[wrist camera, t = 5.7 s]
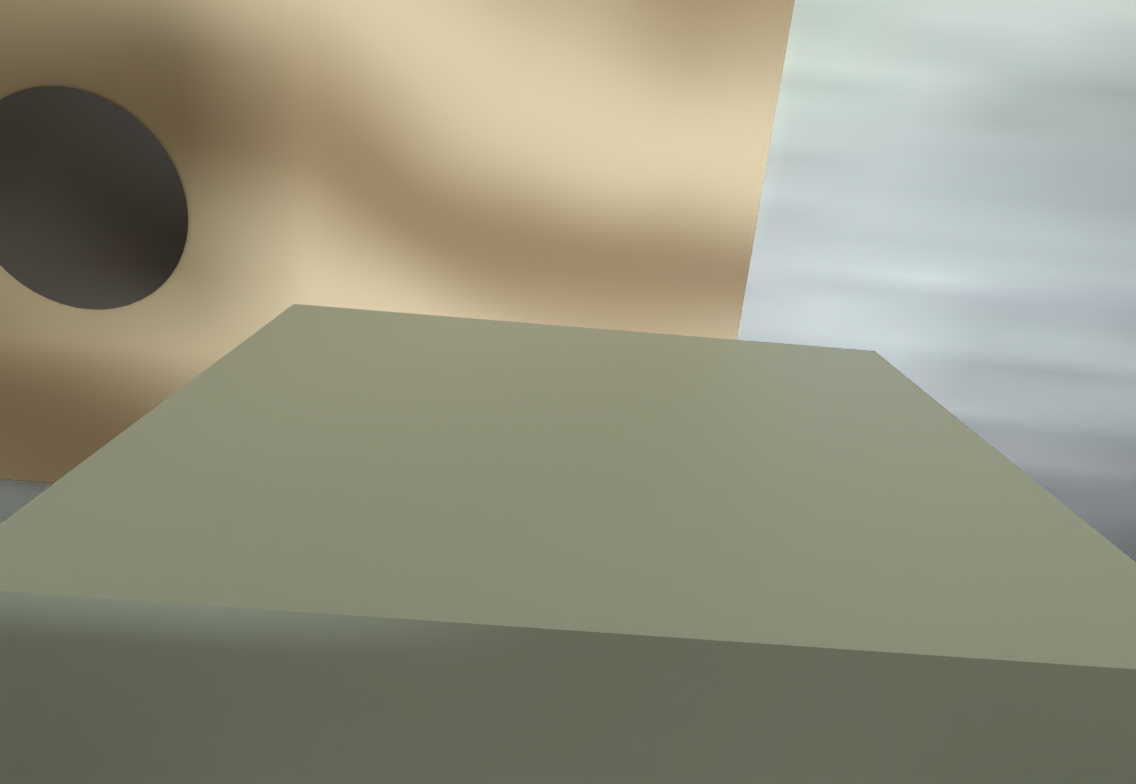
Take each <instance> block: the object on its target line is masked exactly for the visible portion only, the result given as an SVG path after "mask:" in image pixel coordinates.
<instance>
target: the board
mask: <svg viewBox="0 0 1136 784" xmlns="http://www.w3.org/2000/svg"><path fill="white" fill-rule="evenodd" d="M794 1H795V0H0V479H8V480H21V481H35V482H49V483H55V482H56V481H58V480H59V479H60V478H62V477H63V476H64V475H66V474H67V473H68V472H70V471H71V470H72V469H74V468H75V467H76V466H78V465H79V464H80V463H82V462H83V461H84V460H86V459H87V458H88V457H90V456H91V455H92V454H94V453H95V452H96V451H98V450H99V449H101V448H102V447H103V446H105V445H106V444H107V443H109V442H110V441H111V440H113V439H114V438H115V437H117V436H118V435H119V434H121V433H122V432H123V431H125V430H126V429H127V428H129V427H130V426H131V425H133V424H134V423H135V422H137V421H138V420H139V419H141V418H142V417H143V416H145V415H146V414H147V413H149V412H150V411H151V410H153V409H154V408H155V407H157V406H158V405H159V404H161V403H162V402H163V401H165V400H166V399H167V398H169V397H170V396H171V395H173V394H174V393H175V392H177V391H178V390H179V389H181V388H182V387H183V386H185V385H186V384H187V383H189V382H190V381H191V380H193V379H194V378H195V377H197V376H198V375H199V374H201V373H202V372H203V371H205V370H206V369H207V368H209V367H210V366H211V365H213V364H214V363H215V362H217V361H218V360H219V359H221V358H222V357H223V356H225V355H226V354H227V353H229V352H230V351H231V350H233V349H234V348H235V347H237V346H238V345H239V344H241V343H242V342H243V341H245V340H246V339H247V338H249V337H250V336H252V335H253V334H254V333H256V332H257V331H258V330H260V329H261V328H262V327H264V326H265V325H266V324H268V323H269V322H270V321H272V320H273V319H274V318H276V317H277V316H278V315H280V314H281V313H282V312H284V311H285V310H286V309H288V308H289V307H290V306H292V305H293V304H301V305H313V306H326V307H338V308H350V309H363V310H375V311H387V312H399V313H412V314H424V315H436V316H449V317H461V318H473V319H486V320H498V321H510V322H523V323H535V324H547V325H560V326H572V327H584V328H596V329H609V330H621V331H633V332H646V333H658V334H670V335H683V336H695V337H707V338H720V339H732V340H737V336H738V330H739V324H740V318H741V312H742V306H743V300H744V294H745V289H746V283H747V277H748V271H749V265H750V259H751V253H752V247H753V242H754V236H755V230H756V224H757V218H758V212H759V206H760V200H761V195H762V189H763V183H764V177H765V171H766V165H767V159H768V153H769V148H770V142H771V136H772V130H773V124H774V118H775V112H776V106H777V101H778V95H779V89H780V83H781V77H782V71H783V65H784V59H785V54H786V48H787V42H788V36H789V30H790V24H791V18H792V12H793V7H794Z"/></svg>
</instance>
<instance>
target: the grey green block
mask: <svg viewBox="0 0 1136 784" xmlns="http://www.w3.org/2000/svg"><path fill="white" fill-rule="evenodd" d="M0 784H1136V562H1134V561H1133V560H1132V559H1131V558H1130V557H1128V556H1127V555H1126V554H1125V553H1123V552H1122V551H1121V550H1120V549H1118V548H1117V547H1116V546H1115V545H1113V544H1112V543H1111V542H1110V541H1109V540H1107V539H1106V538H1105V537H1104V536H1102V535H1101V534H1100V533H1099V532H1097V531H1096V530H1095V529H1094V528H1092V527H1091V526H1090V525H1089V524H1088V523H1086V522H1085V521H1084V520H1083V519H1081V518H1080V517H1079V516H1078V515H1076V514H1075V513H1074V512H1073V511H1071V510H1070V509H1069V508H1068V507H1067V506H1065V505H1064V504H1063V503H1062V502H1060V501H1059V500H1058V499H1057V498H1055V497H1054V496H1053V495H1052V494H1050V493H1049V492H1048V491H1047V490H1046V489H1044V488H1043V487H1042V486H1041V485H1039V484H1038V483H1037V482H1036V481H1034V480H1033V479H1032V478H1031V477H1029V476H1028V475H1027V474H1026V473H1025V472H1023V471H1022V470H1021V469H1020V468H1018V467H1017V466H1016V465H1015V464H1013V463H1012V462H1011V461H1010V460H1008V459H1007V458H1006V457H1005V456H1004V455H1002V454H1001V453H1000V452H999V451H997V450H996V449H995V448H994V447H992V446H991V445H990V444H989V443H987V442H986V441H985V440H984V439H983V438H981V437H980V436H979V435H978V434H976V433H975V432H974V431H973V430H971V429H970V428H969V427H968V426H966V425H965V424H964V423H963V422H962V421H960V420H959V419H958V418H957V417H955V416H954V415H953V414H952V413H950V412H949V411H948V410H947V409H945V408H944V407H943V406H942V405H941V404H939V403H938V402H937V401H936V400H934V399H933V398H932V397H931V396H929V395H928V394H927V393H926V392H924V391H923V390H922V389H921V388H919V387H918V386H917V385H916V384H915V383H913V382H912V381H911V380H910V379H908V378H907V377H906V376H905V375H903V374H902V373H901V372H900V371H898V370H897V369H896V368H895V367H894V366H892V365H891V364H890V363H889V362H887V361H886V360H885V359H884V358H882V357H881V356H880V355H879V354H877V353H876V352H875V351H867V350H855V349H843V348H830V347H818V346H806V345H793V344H781V343H769V342H756V341H744V340H732V339H720V338H707V337H695V336H683V335H670V334H658V333H646V332H633V331H621V330H609V329H596V328H584V327H572V326H560V325H547V324H535V323H523V322H510V321H498V320H486V319H473V318H461V317H449V316H436V315H424V314H412V313H399V312H387V311H375V310H363V309H350V308H338V307H326V306H313V305H301V304H293V305H292V306H290V307H289V308H288V309H286V310H285V311H284V312H282V313H281V314H280V315H278V316H277V317H276V318H274V319H273V320H272V321H270V322H269V323H268V324H266V325H265V326H264V327H262V328H261V329H260V330H258V331H257V332H256V333H254V334H253V335H252V336H250V337H249V338H247V339H246V340H245V341H243V342H242V343H241V344H239V345H238V346H237V347H235V348H234V349H233V350H231V351H230V352H229V353H227V354H226V355H225V356H223V357H222V358H221V359H219V360H218V361H217V362H215V363H214V364H213V365H211V366H210V367H209V368H207V369H206V370H205V371H203V372H202V373H201V374H199V375H198V376H197V377H195V378H194V379H193V380H191V381H190V382H189V383H187V384H186V385H185V386H183V387H182V388H181V389H179V390H178V391H177V392H175V393H174V394H173V395H171V396H170V397H169V398H167V399H166V400H165V401H163V402H162V403H161V404H159V405H158V406H157V407H155V408H154V409H153V410H151V411H150V412H149V413H147V414H146V415H145V416H143V417H142V418H141V419H139V420H138V421H137V422H135V423H134V424H133V425H131V426H130V427H129V428H127V429H126V430H125V431H123V432H122V433H121V434H119V435H118V436H117V437H115V438H114V439H113V440H111V441H110V442H109V443H107V444H106V445H105V446H103V447H102V448H101V449H99V450H98V451H96V452H95V453H94V454H92V455H91V456H90V457H88V458H87V459H86V460H84V461H83V462H82V463H80V464H79V465H78V466H76V467H75V468H74V469H72V470H71V471H70V472H68V473H67V474H66V475H64V476H63V477H62V478H60V479H59V480H58V481H56V482H55V483H54V484H52V485H51V486H50V487H48V488H47V489H46V490H44V491H43V492H42V493H40V494H39V495H38V496H36V497H35V498H34V499H32V500H31V501H30V502H28V503H27V504H26V505H24V506H23V507H22V508H20V509H19V510H18V511H16V512H15V513H14V514H12V515H11V516H10V517H8V518H7V519H6V520H4V521H3V522H2V523H0Z"/></svg>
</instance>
